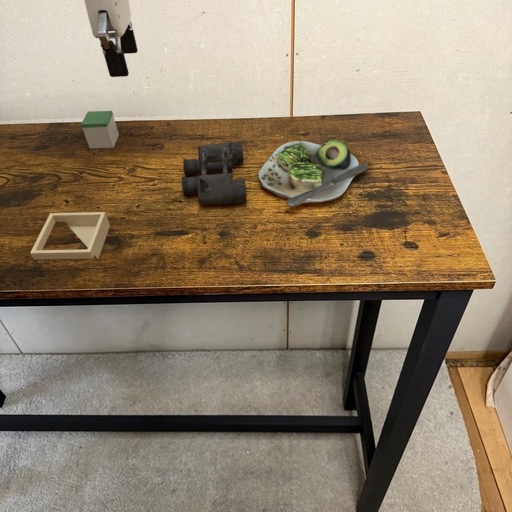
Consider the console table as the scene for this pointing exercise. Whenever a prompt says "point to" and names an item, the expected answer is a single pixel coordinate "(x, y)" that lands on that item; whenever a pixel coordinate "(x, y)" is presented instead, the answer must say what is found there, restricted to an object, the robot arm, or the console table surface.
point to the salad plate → (310, 171)
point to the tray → (84, 226)
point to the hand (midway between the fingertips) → (124, 63)
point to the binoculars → (219, 185)
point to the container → (100, 129)
